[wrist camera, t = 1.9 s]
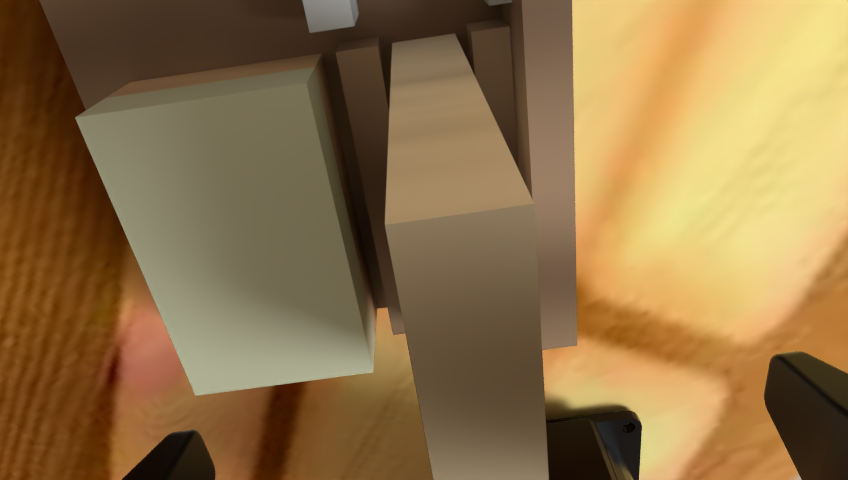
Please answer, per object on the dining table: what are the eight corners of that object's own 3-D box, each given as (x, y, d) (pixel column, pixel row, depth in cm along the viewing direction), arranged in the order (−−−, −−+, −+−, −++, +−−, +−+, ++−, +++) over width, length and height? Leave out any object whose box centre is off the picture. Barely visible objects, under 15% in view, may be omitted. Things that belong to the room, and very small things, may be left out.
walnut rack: (545, 273, 20) (577, 350, 16) (192, 321, 20) (148, 407, 17) (511, -490, 11) (561, -667, 8) (-94, -383, 12) (-300, -506, 8)
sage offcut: (375, 338, 18) (373, 372, 16) (210, 360, 18) (195, 395, 17) (314, 67, 14) (306, 83, 13) (105, 98, 14) (74, 117, 13)
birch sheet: (483, 294, 19) (556, 624, 10) (432, 301, 19) (463, 635, 10) (454, 33, 15) (534, 204, 6) (392, 42, 15) (384, 224, 6)
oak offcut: (376, 308, 19) (375, 338, 18) (223, 329, 19) (210, 360, 18) (321, 53, 15) (314, 67, 14) (130, 82, 15) (105, 98, 14)
